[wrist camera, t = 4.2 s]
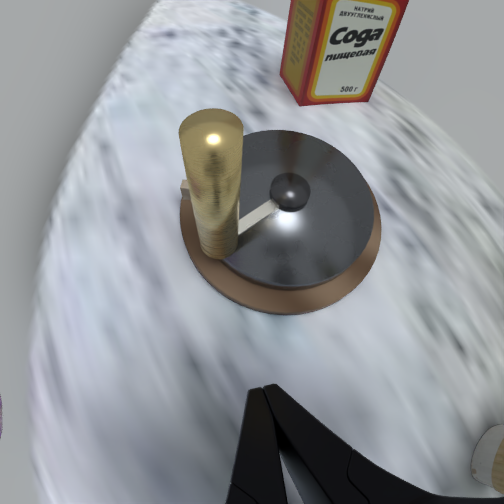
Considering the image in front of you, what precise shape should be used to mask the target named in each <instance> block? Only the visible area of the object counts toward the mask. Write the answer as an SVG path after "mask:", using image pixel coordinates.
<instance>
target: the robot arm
mask: <svg viewBox="0 0 504 504" xmlns="http://www.w3.org/2000/svg"><path fill="white" fill-rule="evenodd" d="M352 449H353V448H352V447H351V446H350V445H349V444H347V443H346V442H345V441H343V440H342V439H341V438H340V437H338V436H337V435H336V434H335V433H333V432H332V431H331V430H330V429H329V428H327V427H326V426H325V425H324V424H322V423H321V422H320V421H319V420H318V419H316V418H315V417H314V416H313V415H312V414H310V413H309V412H308V411H307V410H306V409H305V408H303V407H302V406H301V405H300V404H299V403H298V402H296V401H295V400H294V399H293V398H292V397H291V396H290V395H288V394H287V393H286V392H285V391H284V390H283V389H282V388H280V387H279V386H278V385H277V384H270V385H266V386H264V387H263V388H261V387H258V388H254V389H250V390H249V391H248V394H247V399H246V404H245V410H244V415H243V420H242V425H241V431H240V436H239V441H238V446H237V451H236V456H235V461H234V466H233V471H232V476H231V481H230V482H231V484H230V486H229V490H228V495H227V499H226V503H225V504H288V502H287V496H286V490H285V484H284V478H283V472H282V466H281V460H280V455H281V457H282V459H283V461H284V463H285V466H286V468H287V470H288V472H289V474H290V476H291V478H292V480H293V482H294V484H295V486H296V488H297V490H298V492H299V494H300V496H301V498H302V500H303V502H304V504H504V497H499V498H467V497H448V496H441V495H436V494H432V493H430V492H427V491H425V490H422V489H420V488H418V487H416V486H414V485H412V484H410V483H408V482H406V481H404V480H402V479H400V478H399V477H397V476H395V475H393V474H391V473H389V472H387V471H386V470H384V469H382V468H381V467H379V466H377V465H376V464H374V463H373V462H371V461H370V460H368V459H367V458H366V457H364V456H363V455H362V454H360V453H359V452H358V451H356V450H355V449H353V450H352ZM279 453H280V454H279Z"/></svg>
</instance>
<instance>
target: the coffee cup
mask: <svg viewBox="0 0 504 504" xmlns="http://www.w3.org/2000/svg"><path fill="white" fill-rule="evenodd" d="M471 472H472V475H473V477H474V479H475V480H477V481H479V482H481V483H483V484H486V485H488V486H490V487H493V488H494V489H495V490H496V491H498V492H500V493H503V494H504V424H500V425H495V426H493V427H491V428H490V429H489V430H487V431H486V432H485V434H484V435H483V436H482V437H481V439H480V440H479V442H478V444H477V446H476V448H475V450H474V453H473V457H472V462H471Z"/></svg>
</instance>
